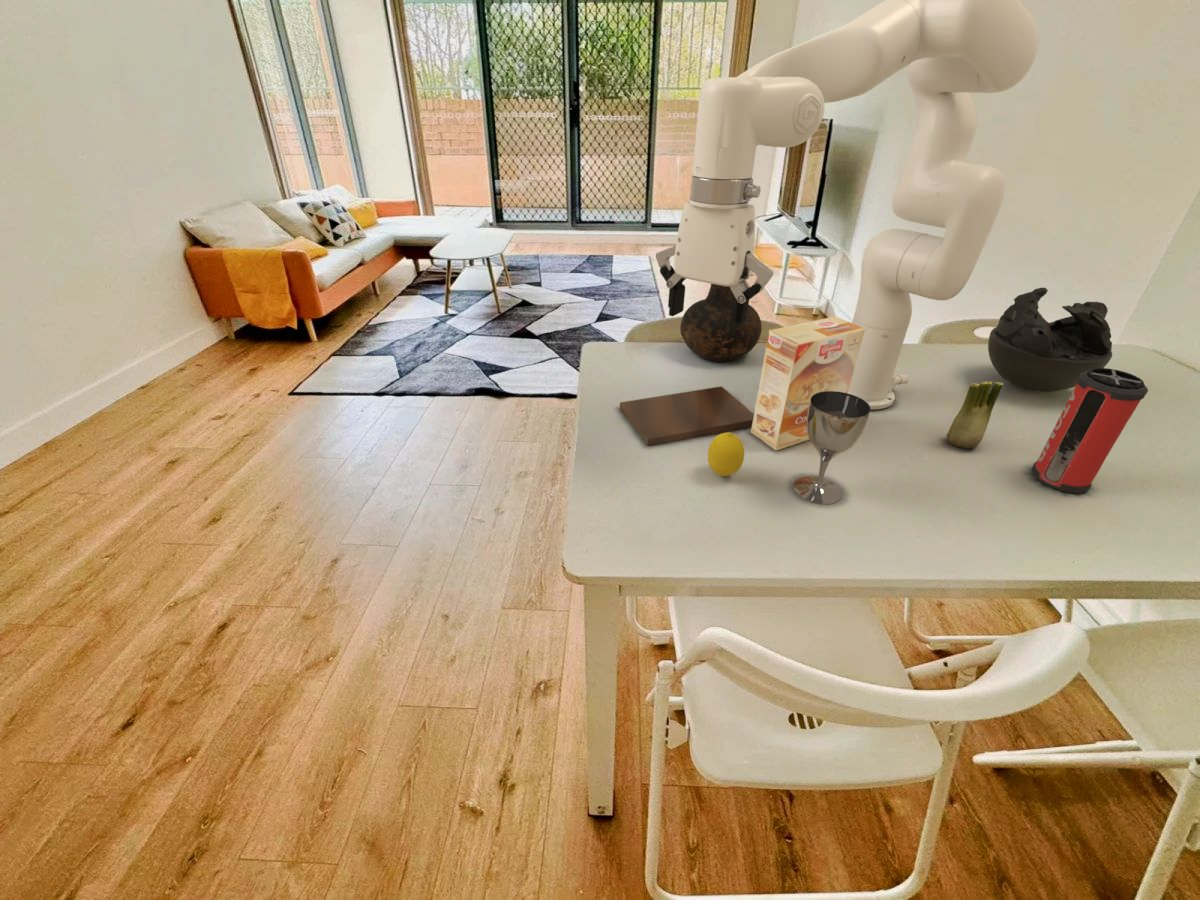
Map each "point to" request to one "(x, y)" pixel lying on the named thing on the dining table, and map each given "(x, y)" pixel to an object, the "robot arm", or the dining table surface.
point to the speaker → (1088, 428)
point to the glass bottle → (719, 327)
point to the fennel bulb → (974, 415)
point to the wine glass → (831, 439)
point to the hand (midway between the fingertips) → (704, 320)
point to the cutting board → (686, 415)
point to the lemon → (726, 454)
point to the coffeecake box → (802, 375)
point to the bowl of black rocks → (1049, 344)
